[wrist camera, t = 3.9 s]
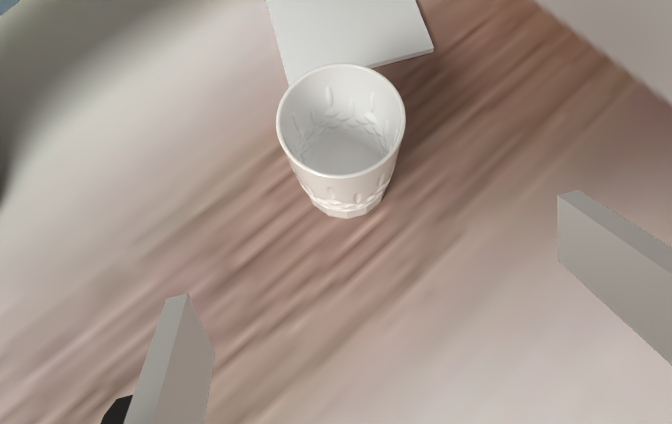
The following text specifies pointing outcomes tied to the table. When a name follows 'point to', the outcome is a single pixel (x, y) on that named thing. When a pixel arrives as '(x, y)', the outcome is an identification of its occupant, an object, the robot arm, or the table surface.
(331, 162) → the white cup
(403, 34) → the mat
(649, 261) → the robot arm
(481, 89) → the table surface
